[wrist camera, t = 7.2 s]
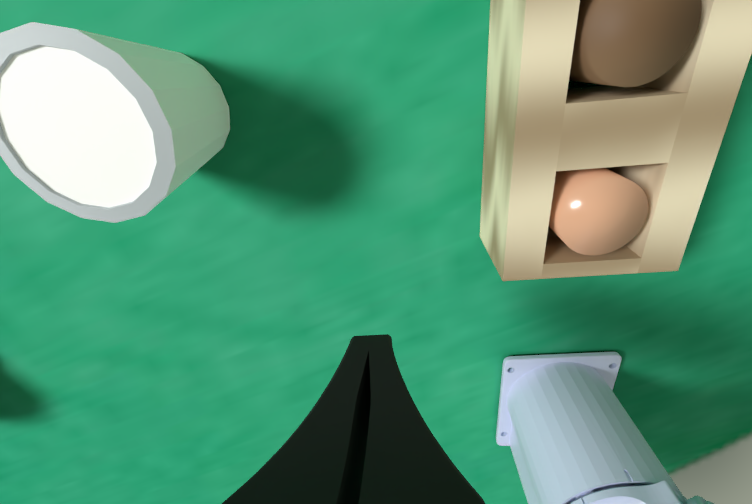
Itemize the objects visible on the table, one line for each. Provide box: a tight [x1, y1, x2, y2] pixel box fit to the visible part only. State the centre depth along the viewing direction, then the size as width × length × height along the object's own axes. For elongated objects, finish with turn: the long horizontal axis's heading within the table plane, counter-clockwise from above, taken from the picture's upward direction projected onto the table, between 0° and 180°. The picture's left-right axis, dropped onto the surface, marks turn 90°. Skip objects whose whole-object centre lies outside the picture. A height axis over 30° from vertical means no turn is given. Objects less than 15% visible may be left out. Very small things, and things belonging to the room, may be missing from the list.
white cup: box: [0, 22, 230, 223], centre depth 16 cm, size 7×7×7 cm
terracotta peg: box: [549, 168, 648, 255], centre depth 18 cm, size 4×4×5 cm
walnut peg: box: [569, 0, 702, 87], centre depth 15 cm, size 4×4×5 cm
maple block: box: [480, 0, 752, 281], centre depth 17 cm, size 13×8×5 cm, turn 5°
